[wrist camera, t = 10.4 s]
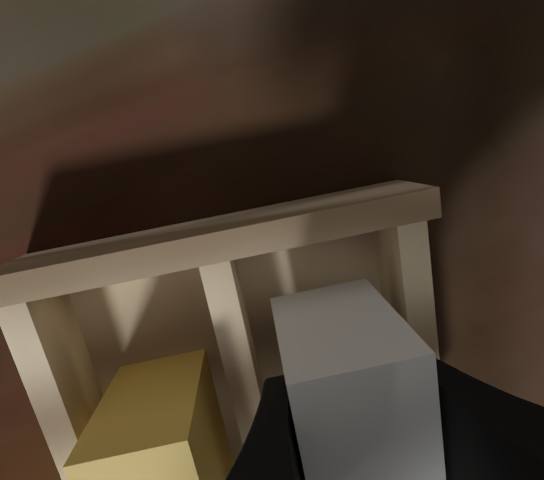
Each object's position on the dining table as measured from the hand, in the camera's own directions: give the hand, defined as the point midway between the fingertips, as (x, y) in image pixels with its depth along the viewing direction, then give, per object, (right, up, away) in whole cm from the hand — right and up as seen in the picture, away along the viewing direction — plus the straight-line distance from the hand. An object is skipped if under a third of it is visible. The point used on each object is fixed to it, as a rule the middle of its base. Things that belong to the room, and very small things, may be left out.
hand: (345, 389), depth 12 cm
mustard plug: (-6, -3, +4) cm, 8 cm away
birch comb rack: (-4, 0, +4) cm, 6 cm away
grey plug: (0, 0, +2) cm, 2 cm away
